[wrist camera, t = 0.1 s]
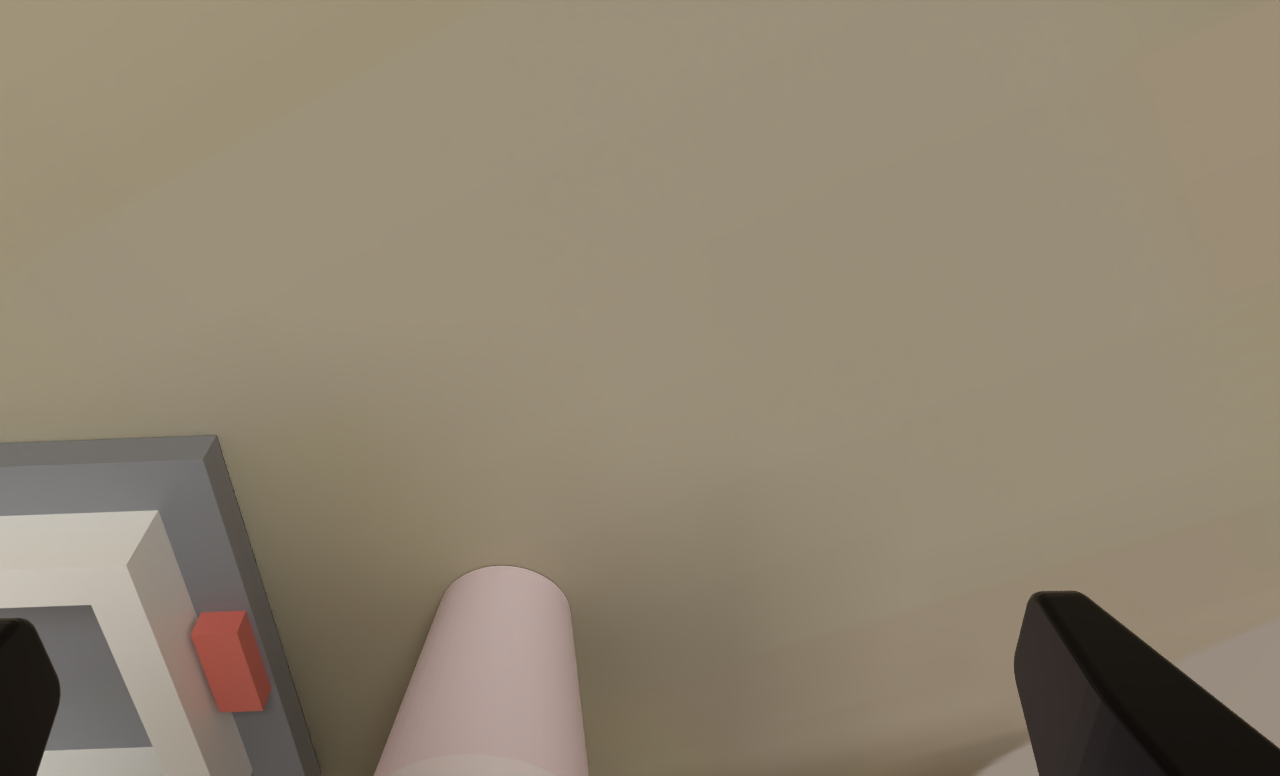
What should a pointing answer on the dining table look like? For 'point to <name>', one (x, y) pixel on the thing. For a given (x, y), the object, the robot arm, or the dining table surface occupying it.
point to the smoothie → (493, 685)
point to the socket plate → (147, 611)
